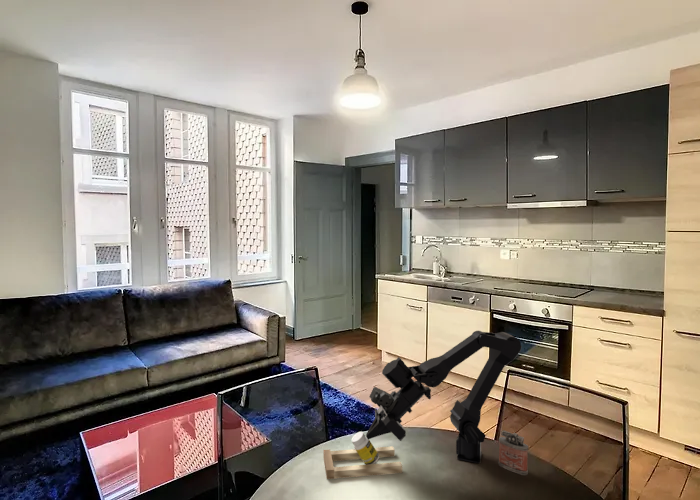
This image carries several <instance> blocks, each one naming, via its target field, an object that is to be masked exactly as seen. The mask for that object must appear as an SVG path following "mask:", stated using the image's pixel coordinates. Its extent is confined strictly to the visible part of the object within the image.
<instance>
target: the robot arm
mask: <svg viewBox="0 0 700 500" xmlns="http://www.w3.org/2000/svg"><path fill="white" fill-rule="evenodd" d="M483 348H488V349H489V356H488V359H487V360H486V362H485V363H484V366H483V368H482V369H481V371H480V373H479V375H478V377H477V378H476V381H475V382H474V384H473V386H472V388H471V390H470V391H469V393H468V395H467V397H466V398H465V399H464V400H463V401H459V400H458V399H457V400H455V402H454V406H453V407H452V408H451V409H450V411H449V412H450V415H449V418H450V422H451V425H453V427H454V428H455V429H456V431H458V436H457V438H456V442H455V443H456V444H455V445H456V446H455V447H456V448H455V450H456V451H455V454H456V455H457V457H456V459H457V460H460V461H465V462H469V463H475V464H481V461H482V460H481V459H482V453H483V452H482V443H484V441H485V439H486V434H485V433H484V432H483V431H482V430H481V429H480V428H479V425H480V422H481V414H482V408H483V406H484V404H485V402H486V401H487V398H488V397H489V395H490V393H491V391H492V389H493V387H494V386H495V384H496V383H497V380H498V379H499V377H500V375H501V374H502V372H503V370H504V368H505V367H507V365H508V364H511V362H513V361H514V360H515V359H516V358H517V356H518V355H519V354H520V352H521V351H522V343H521V341H520V339H519V338H517V337H516V336H513V335H511V334H509V333H508V332H504V331H500V332H497V333H493V332H488V331H481V330H475V331H473V332H472V334H471V335H469V336H467V338H465V339H463V340H461V341H460V342H459V343H458V344H456V345H455V346H453V347H451V348H450V349H449V350H448V351H446V352H444V353H443V354H442V355H439V356H436V357H432V358H429V359H427V360H426V361H425V360H424V361H423V362H421V363H420V364H419V365H413V366H412V365H411V366H407V365H406V364H405V362H404V360H403V359H402V358H401V357H400V356H399V357H397V358H396V359H393V360H391V361H390V362H387V364H385V366H384V367H383V369H382V370H381V371H382V372H381V374H382V375H383V376H384V378H386V379H387V380H388V381H389V383H391V384H392V386H394V388H395V389H398V388H400V389H399V390H398V391H397V392H396V390H394V391H391V393H389V392H388V391H385V390H383V389H381V388H378V387H376V386H373V388H372V390H371V392H370V394H369V399H370V401H371V403H373V404H374V405H377V406H378V409H377V408H374V419H373V420H372V423H371V425H370V427H369V429H368V431H367V432H366V434H365V437H367V438H368V439H369V440H370V439H373V438H376V437H380V436H382V435H386V434H390V433H391V434H392V435H394V436H395V438H396V439H398V441H401V442H402V440H403V439H404V438H405V437H406V434H407V433H406V430H405V428H404V426H403V424H401V423H403V420H402V417H404V416H405V415H406V414H407V413H409V414H411V413H412V412H413V410H412V408H413V407H414V406H415V404H416V403H417V402H418V401H420V400H421V398H422V397H423V396H425V397H426V398H427V399H428V400H432V395H431V391H432V389H431V388H436V387H438V386H439V385H440V384H442V383H443V382H444V381H445V380H446V378H448V376H449V374H450V372H451V371H452V370H453V369H454V368H456V367H457V366H459V365H460V364H462V362H465V360H466V361H467V359H468V358H470V357H471V356H472V355H474V354H476V353H477V352H478V351H480V350H481V349H483Z"/></svg>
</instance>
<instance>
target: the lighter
mask: <svg viewBox="0 0 700 500" xmlns="http://www.w3.org/2000/svg"><path fill="white" fill-rule="evenodd" d="M500 434H501V436H500V437H498V442H499V446H498V447H499V452H498V454H499V456H498V457H499V458H498V466H499V467H500V468H503V469H505V470H508V471H510V472H513V473H515V474H518V475H521V476H527V475H528V473H529V469H528V450H529V445H528V444H526V443H524V442H525V437H524V436H520V435H518V433H516V432H513V433H511V431H510V432H509V431H507V430H502V431H501V433H500Z"/></svg>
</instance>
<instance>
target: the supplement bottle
mask: <svg viewBox="0 0 700 500" xmlns="http://www.w3.org/2000/svg"><path fill="white" fill-rule="evenodd" d="M350 441H351V443H352V444H353V447H354V449H355V450H356V451H357V453H358V454H359V456H360V457H361V459H360V460H362V462H363V463H364V464H363V465H367V464H377V462H378V460H379V454H378V453H377V451H376V449H375V448H376V447H374V445H373V443H372V442H371V440H370V439H368V438H367V437H366V434H365V433H364V432H363V431H358V432H356V433H355V434H354V435H352V438H351V440H350Z"/></svg>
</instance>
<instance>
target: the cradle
mask: <svg viewBox="0 0 700 500" xmlns="http://www.w3.org/2000/svg"><path fill="white" fill-rule="evenodd" d="M374 448H375V449H376V451H377V453H378V454H379V458H390V457H395V456H396V455H395V454H396V452H395V451H396V450H395V447H394V446H391V445H390V446H382V447H381V446H379V447H374ZM354 460H362V459H361V457H360V456H359V454H358V453H357V451H356V450H355V448H354V449H353V448H352V449H342V450H339V449H338V450H331V449H323V462H324V463H323V464H324V470H325V476H326V480H333V479H334V480H335V479H336V480H337V479H344V478H346V479H347V478H358V477H369V476H382V475H391V474H393V475H394V474H402V473H403V464H402V462H401V461H395V462H385V463H384V462H383V463H375V464H367V465H365V464H357V465H346V466H345V465H344V466H334V462H340V461H354Z"/></svg>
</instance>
